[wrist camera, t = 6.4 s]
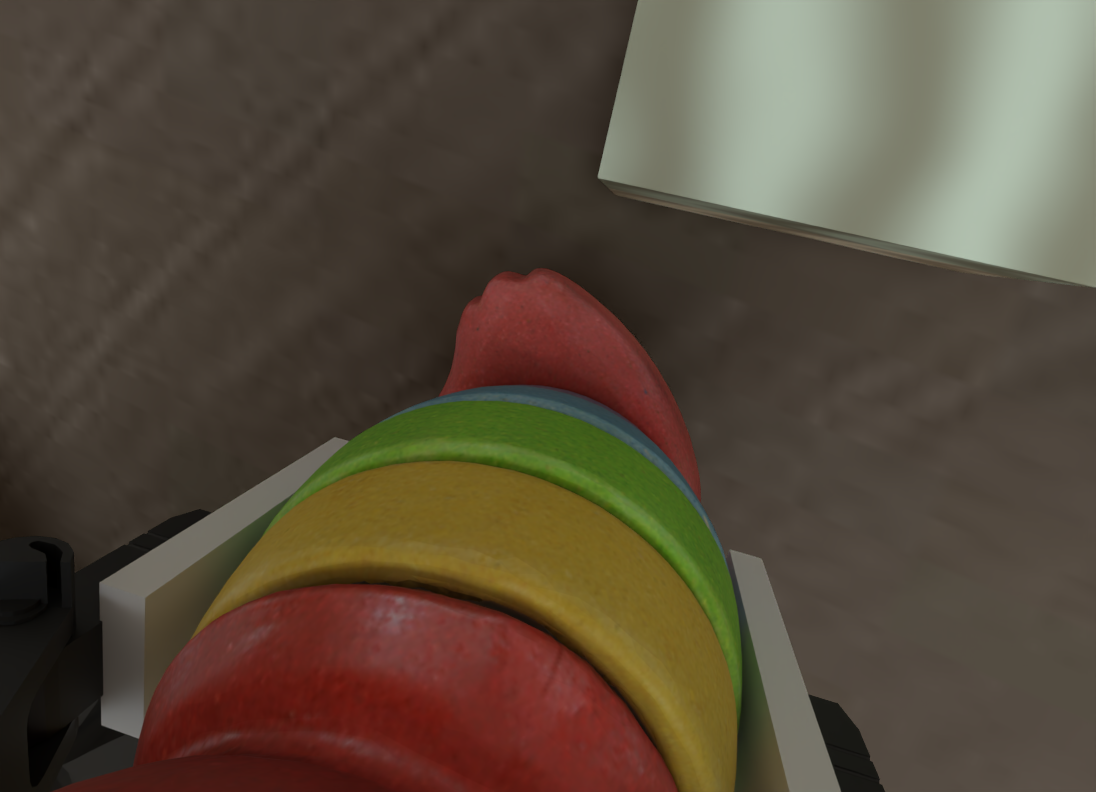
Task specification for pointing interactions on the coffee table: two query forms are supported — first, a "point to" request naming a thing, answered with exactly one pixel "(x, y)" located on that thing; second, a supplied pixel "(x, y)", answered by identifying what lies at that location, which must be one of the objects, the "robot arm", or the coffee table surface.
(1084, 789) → the coffee table surface
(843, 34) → the tower base
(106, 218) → the coffee table surface
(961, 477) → the coffee table surface
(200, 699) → the stacking bear
